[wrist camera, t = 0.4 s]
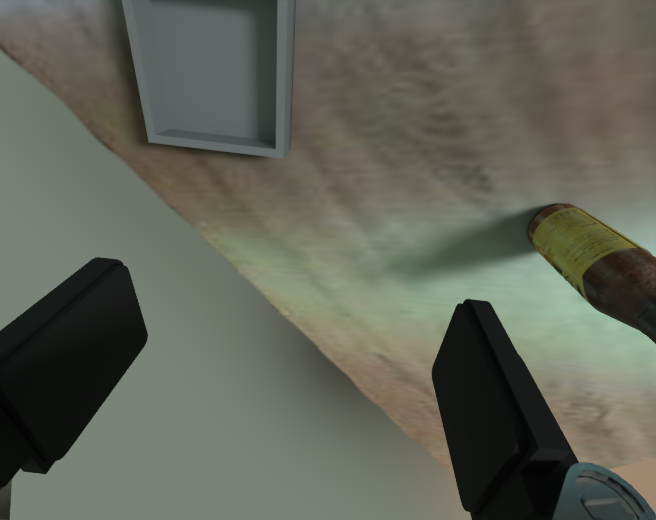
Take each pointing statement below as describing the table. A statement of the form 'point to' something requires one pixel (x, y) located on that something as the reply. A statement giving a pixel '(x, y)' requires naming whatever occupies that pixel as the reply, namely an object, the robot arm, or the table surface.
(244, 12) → the box
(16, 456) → the robot arm
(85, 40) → the table surface
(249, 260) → the table surface
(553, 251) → the sauce bottle
